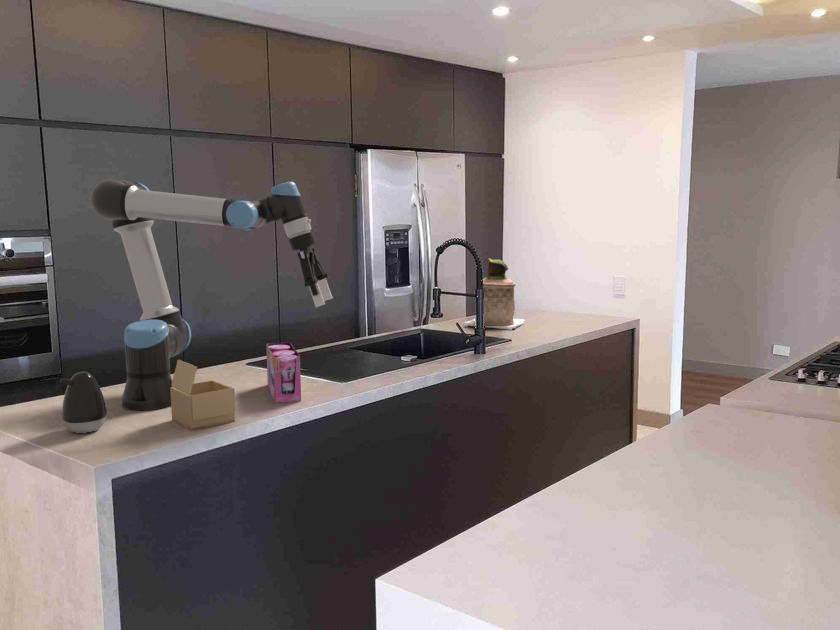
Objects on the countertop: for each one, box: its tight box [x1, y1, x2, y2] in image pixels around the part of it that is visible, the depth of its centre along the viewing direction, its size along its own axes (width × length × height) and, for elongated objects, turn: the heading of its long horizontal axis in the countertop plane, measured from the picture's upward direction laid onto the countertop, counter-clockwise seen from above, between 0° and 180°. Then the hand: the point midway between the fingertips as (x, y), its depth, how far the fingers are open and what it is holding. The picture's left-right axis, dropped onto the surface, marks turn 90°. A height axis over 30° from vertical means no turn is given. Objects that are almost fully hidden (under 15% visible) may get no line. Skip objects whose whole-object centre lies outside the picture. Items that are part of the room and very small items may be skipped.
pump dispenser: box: [59, 371, 108, 434], centre depth 180 cm, size 10×10×15 cm
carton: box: [170, 379, 236, 432], centre depth 189 cm, size 13×12×9 cm
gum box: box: [265, 341, 302, 404], centre depth 216 cm, size 24×8×14 cm, turn 18°
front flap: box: [171, 359, 198, 394], centre depth 184 cm, size 11×7×1 cm
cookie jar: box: [463, 257, 526, 331], centre depth 339 cm, size 25×25×32 cm
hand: (324, 302), depth 212 cm, fingers open, 13 cm apart
